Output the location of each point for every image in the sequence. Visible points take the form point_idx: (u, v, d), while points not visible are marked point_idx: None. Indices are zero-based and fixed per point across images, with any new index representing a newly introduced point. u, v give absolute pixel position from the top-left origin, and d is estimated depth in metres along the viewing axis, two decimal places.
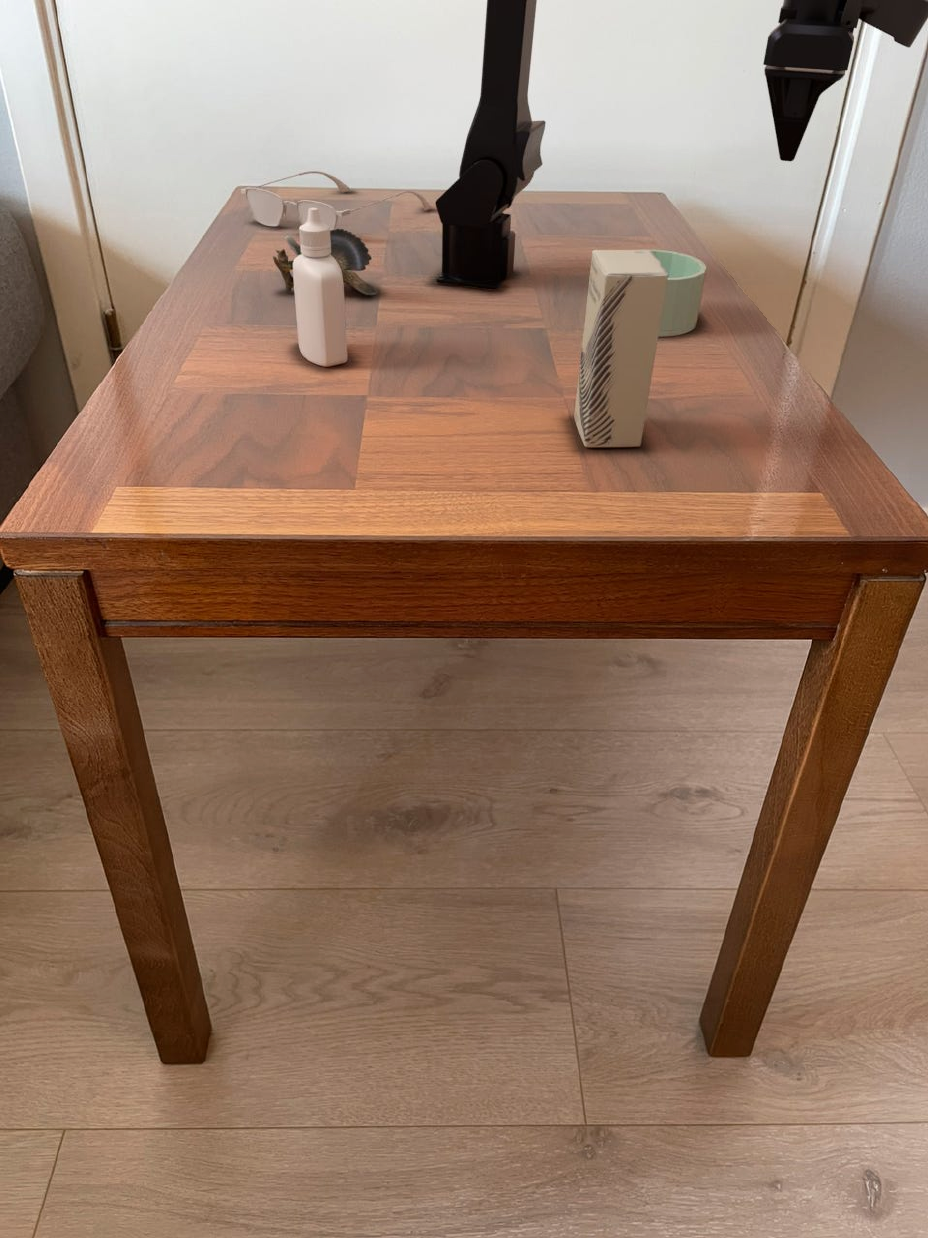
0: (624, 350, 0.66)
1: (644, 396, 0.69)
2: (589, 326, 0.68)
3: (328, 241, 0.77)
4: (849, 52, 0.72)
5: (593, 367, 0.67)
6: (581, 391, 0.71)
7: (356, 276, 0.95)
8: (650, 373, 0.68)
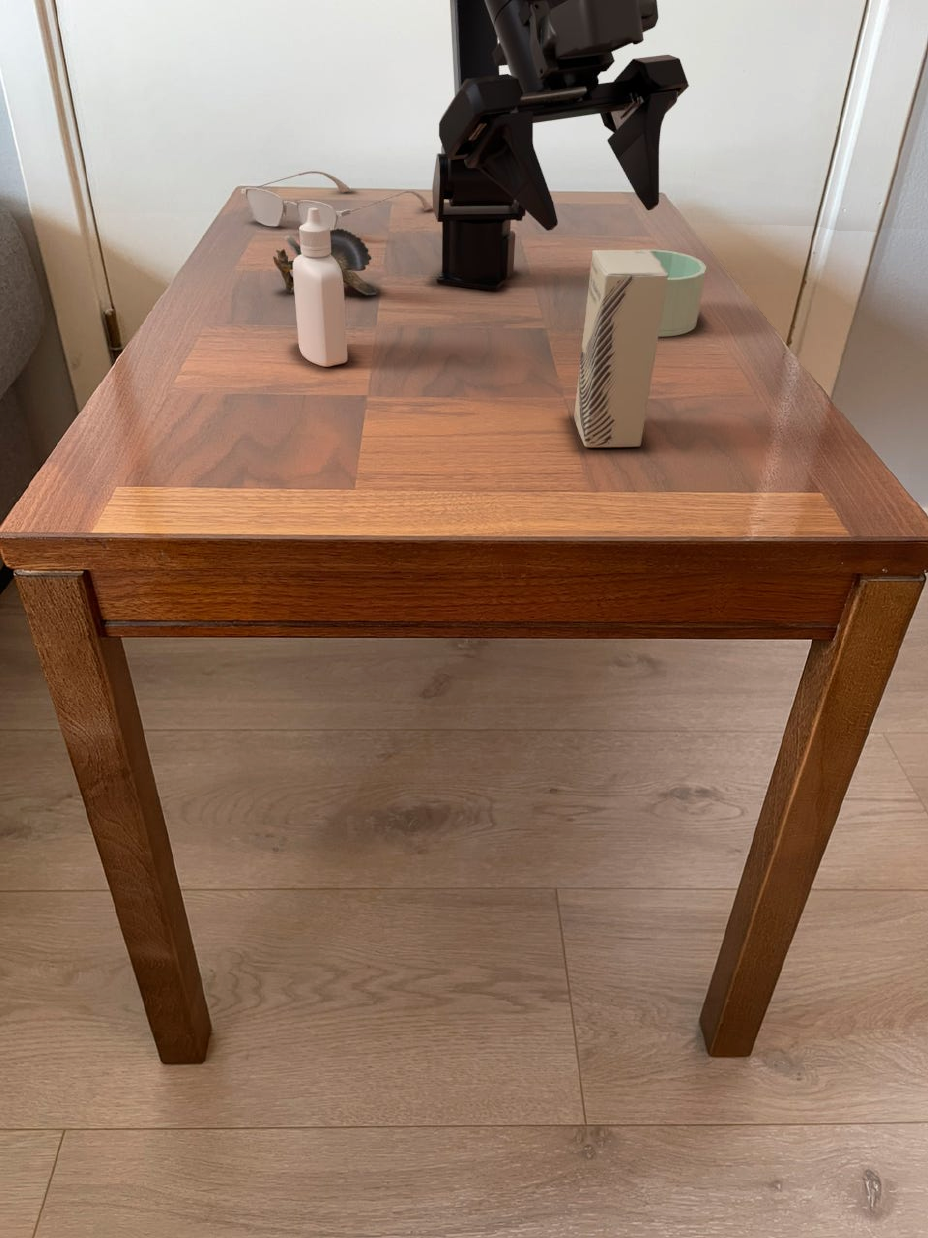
0: (624, 350, 0.66)
1: (644, 396, 0.69)
2: (589, 326, 0.68)
3: (328, 241, 0.77)
4: (476, 94, 0.64)
5: (593, 367, 0.67)
6: (581, 391, 0.71)
7: (356, 276, 0.95)
8: (650, 373, 0.68)
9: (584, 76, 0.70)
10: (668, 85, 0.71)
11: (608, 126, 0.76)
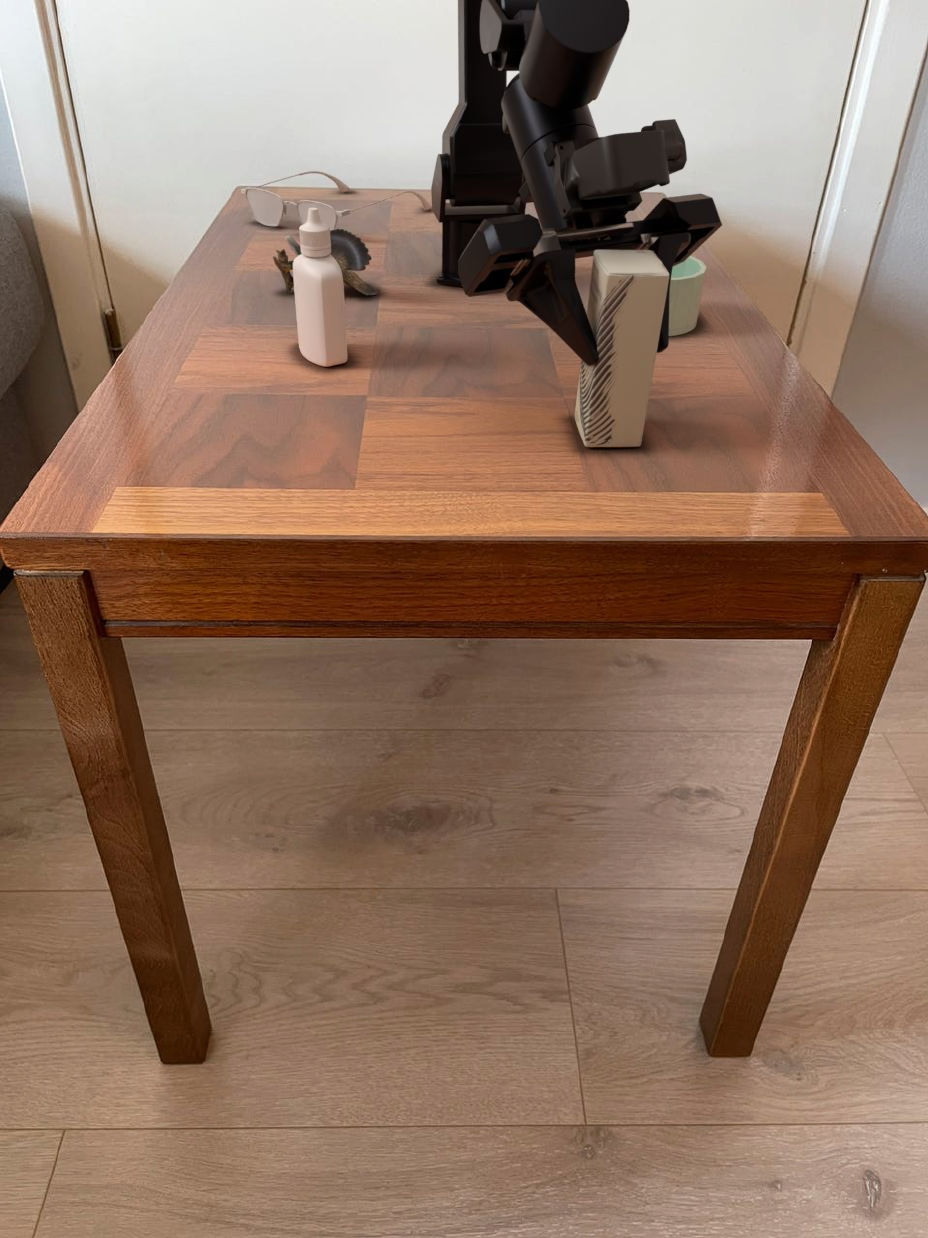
0: (625, 350, 0.66)
1: (645, 396, 0.69)
2: None
3: (328, 241, 0.77)
4: (493, 235, 0.62)
5: (594, 366, 0.67)
6: (582, 391, 0.71)
7: (356, 276, 0.95)
8: (651, 373, 0.68)
9: (611, 215, 0.68)
10: (699, 224, 0.68)
11: None
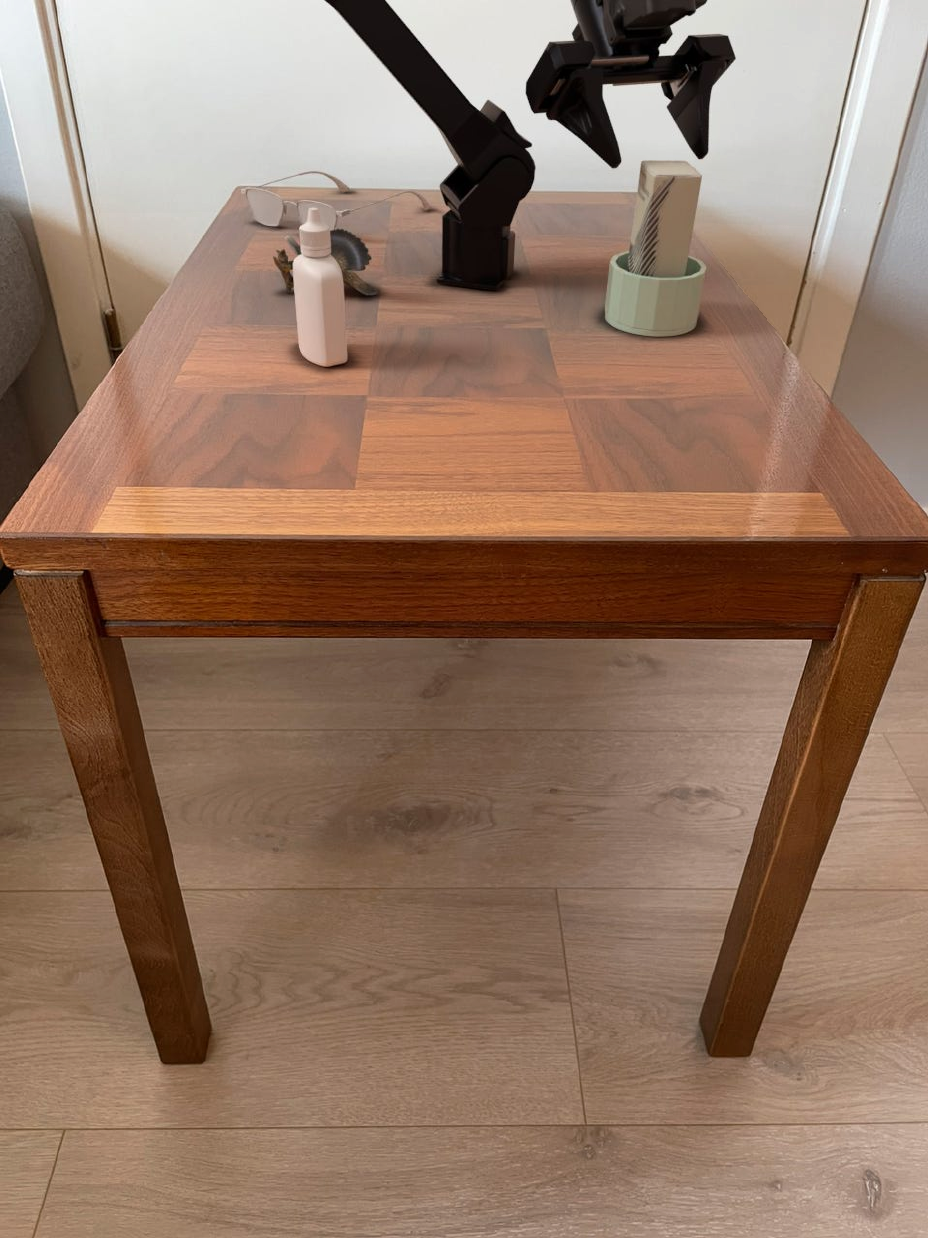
0: (667, 238, 0.85)
1: None
2: (638, 221, 0.87)
3: (328, 241, 0.77)
4: (557, 52, 0.79)
5: (642, 252, 0.86)
6: None
7: (356, 276, 0.95)
8: (686, 257, 0.86)
9: (647, 48, 0.85)
10: (718, 56, 0.85)
11: (667, 95, 0.90)
